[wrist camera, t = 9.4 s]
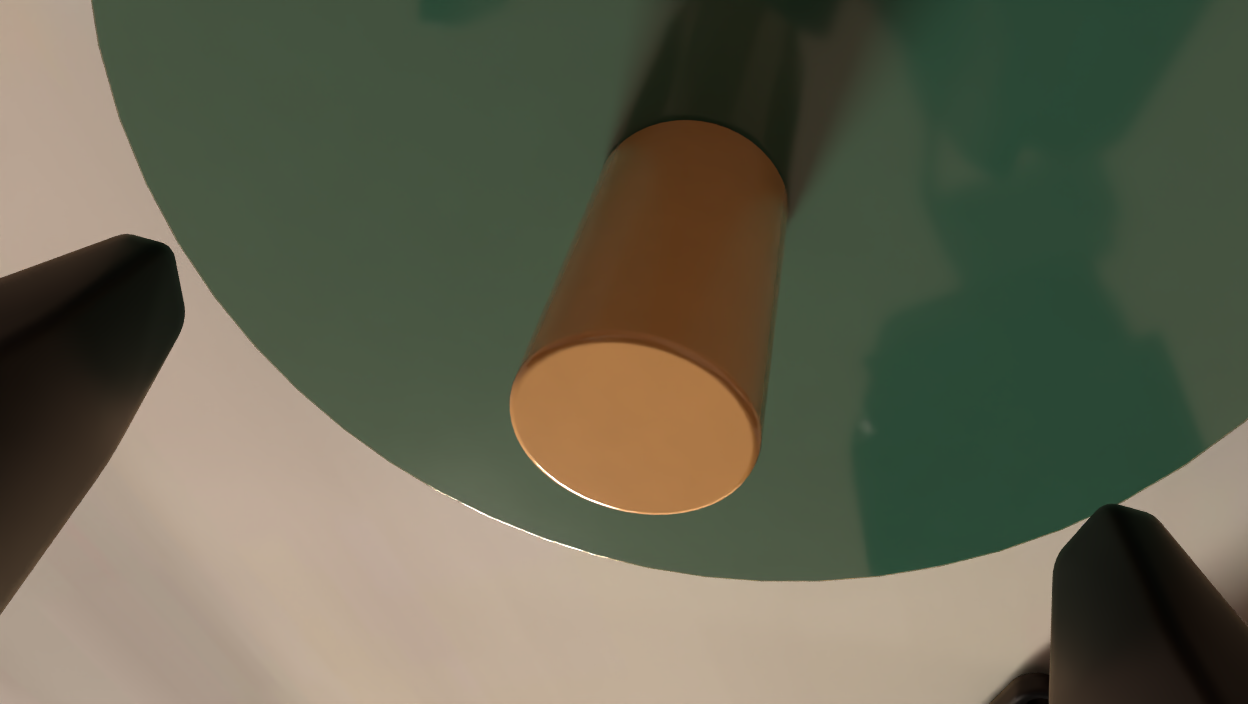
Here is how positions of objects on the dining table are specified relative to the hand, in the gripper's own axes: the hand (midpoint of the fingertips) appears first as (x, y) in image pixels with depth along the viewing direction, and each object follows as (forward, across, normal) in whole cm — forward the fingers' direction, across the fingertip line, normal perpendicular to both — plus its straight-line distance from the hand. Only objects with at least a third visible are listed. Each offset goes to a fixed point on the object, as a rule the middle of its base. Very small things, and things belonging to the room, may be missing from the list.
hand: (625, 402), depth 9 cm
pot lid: (+4, 0, 0) cm, 4 cm away
